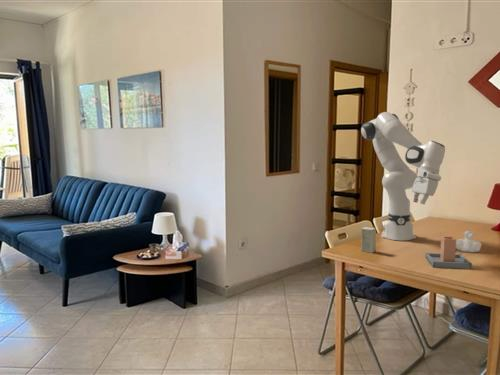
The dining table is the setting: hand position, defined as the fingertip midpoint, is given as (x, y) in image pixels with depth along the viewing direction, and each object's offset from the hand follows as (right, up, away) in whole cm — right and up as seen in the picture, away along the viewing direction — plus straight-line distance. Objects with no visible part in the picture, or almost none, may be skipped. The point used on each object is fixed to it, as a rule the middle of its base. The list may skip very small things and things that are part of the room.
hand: (418, 203), depth 190 cm
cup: (+11, -27, -5) cm, 29 cm away
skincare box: (-19, -26, +16) cm, 36 cm away
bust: (+31, -25, +15) cm, 43 cm away
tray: (+11, -28, -4) cm, 30 cm away
